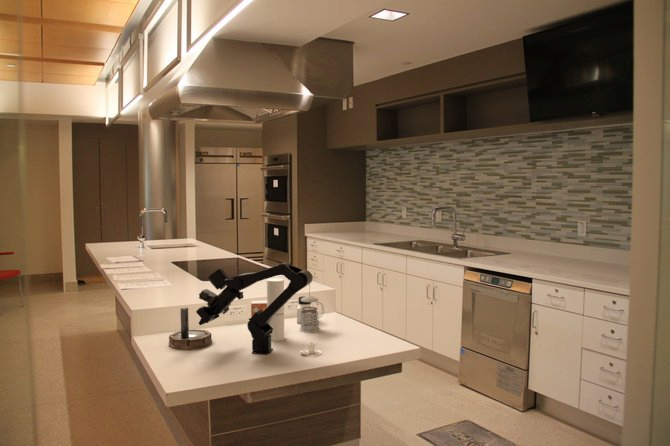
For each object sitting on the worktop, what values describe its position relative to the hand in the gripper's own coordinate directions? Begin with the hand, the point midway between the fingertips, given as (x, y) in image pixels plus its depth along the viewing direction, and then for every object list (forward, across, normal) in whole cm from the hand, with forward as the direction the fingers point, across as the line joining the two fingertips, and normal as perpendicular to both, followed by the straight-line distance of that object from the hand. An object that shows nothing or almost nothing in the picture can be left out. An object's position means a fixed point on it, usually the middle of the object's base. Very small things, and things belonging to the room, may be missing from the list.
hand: (199, 324), depth 213 cm
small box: (-4, -30, +17) cm, 34 cm away
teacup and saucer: (-23, -3, +37) cm, 44 cm away
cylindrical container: (-12, -18, +25) cm, 33 cm away
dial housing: (+11, -4, +2) cm, 12 cm away
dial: (+10, -5, +1) cm, 11 cm away
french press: (-19, -36, +32) cm, 52 cm away
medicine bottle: (-14, -50, +28) cm, 58 cm away
